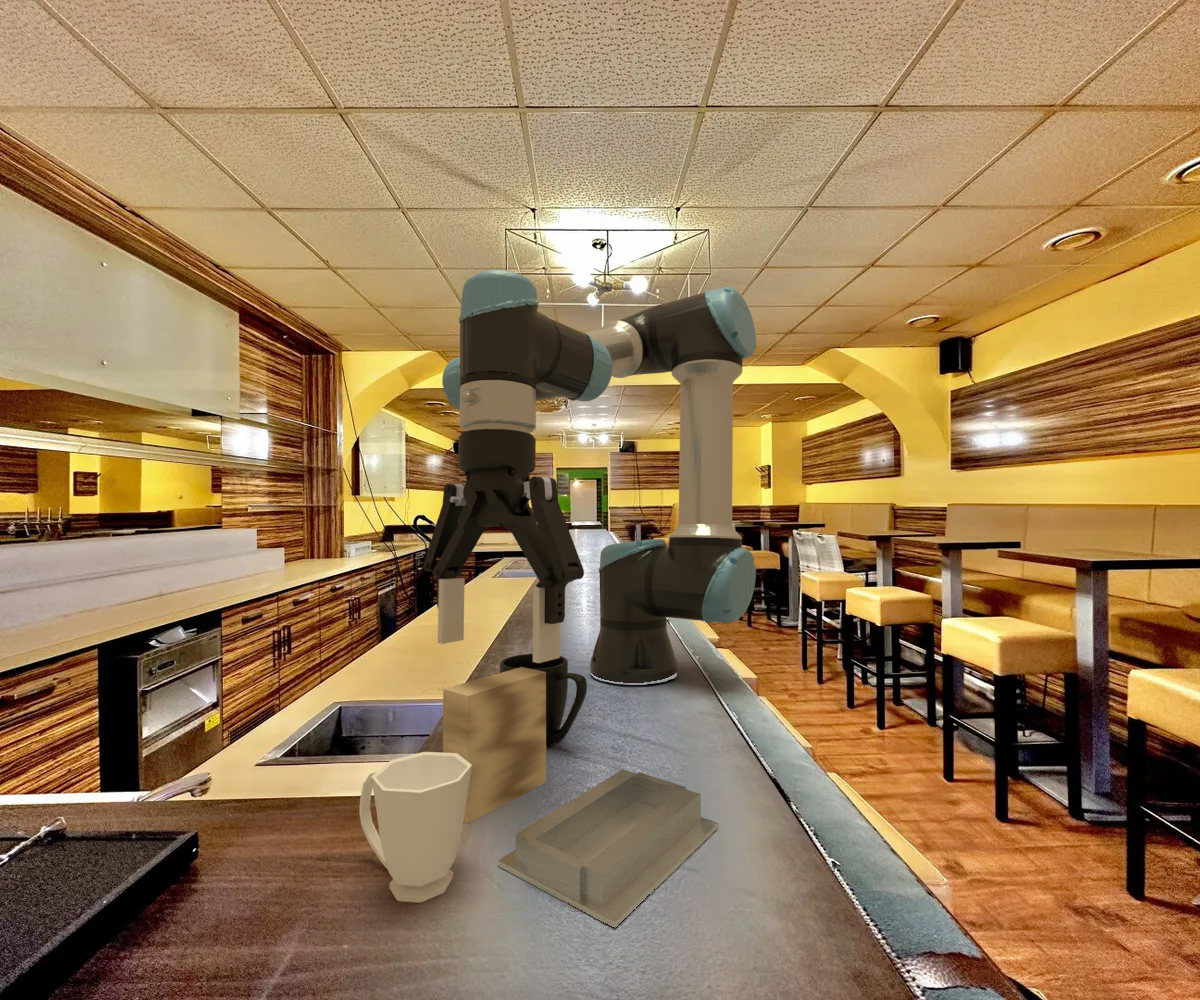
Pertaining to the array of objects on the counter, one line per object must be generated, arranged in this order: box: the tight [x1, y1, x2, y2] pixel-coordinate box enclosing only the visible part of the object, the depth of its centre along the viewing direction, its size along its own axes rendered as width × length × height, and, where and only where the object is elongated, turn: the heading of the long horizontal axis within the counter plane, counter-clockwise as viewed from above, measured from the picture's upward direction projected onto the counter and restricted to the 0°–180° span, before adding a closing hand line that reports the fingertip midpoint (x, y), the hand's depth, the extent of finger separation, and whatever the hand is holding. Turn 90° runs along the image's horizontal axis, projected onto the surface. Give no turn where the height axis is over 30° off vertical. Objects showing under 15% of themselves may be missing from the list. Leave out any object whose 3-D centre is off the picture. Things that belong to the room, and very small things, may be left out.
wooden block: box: [442, 667, 547, 825], centre depth 54 cm, size 10×4×11 cm, turn 142°
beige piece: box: [497, 769, 719, 929], centre depth 45 cm, size 15×11×3 cm
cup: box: [358, 751, 472, 904], centre depth 41 cm, size 7×10×8 cm
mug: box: [499, 653, 588, 748], centre depth 66 cm, size 8×12×10 cm
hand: (494, 650), depth 54 cm, fingers open, 13 cm apart
